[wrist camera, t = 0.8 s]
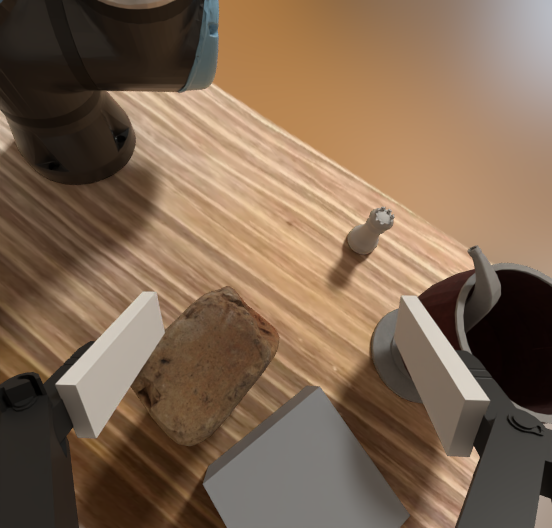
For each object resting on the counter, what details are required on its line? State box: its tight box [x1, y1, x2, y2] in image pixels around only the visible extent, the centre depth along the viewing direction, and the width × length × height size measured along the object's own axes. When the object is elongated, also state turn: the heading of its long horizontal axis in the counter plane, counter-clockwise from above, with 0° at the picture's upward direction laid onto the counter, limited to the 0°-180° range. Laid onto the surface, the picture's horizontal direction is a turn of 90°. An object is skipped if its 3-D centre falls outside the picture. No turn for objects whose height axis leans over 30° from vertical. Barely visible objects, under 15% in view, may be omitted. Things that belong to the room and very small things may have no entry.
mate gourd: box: [371, 246, 552, 424], centre depth 31 cm, size 16×14×20 cm
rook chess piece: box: [347, 207, 394, 254], centre depth 42 cm, size 4×4×8 cm
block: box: [130, 286, 279, 446], centre depth 28 cm, size 11×8×20 cm
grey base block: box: [203, 386, 410, 528], centre depth 31 cm, size 14×14×6 cm
